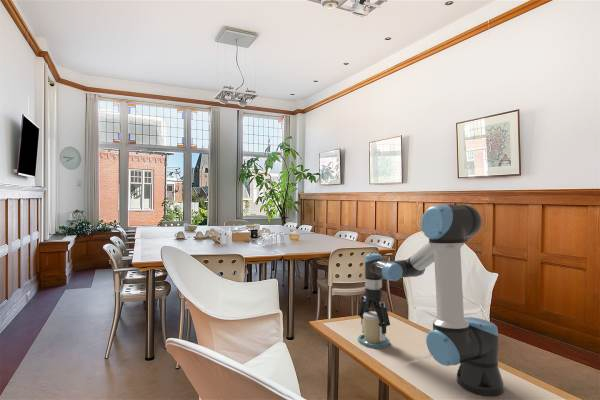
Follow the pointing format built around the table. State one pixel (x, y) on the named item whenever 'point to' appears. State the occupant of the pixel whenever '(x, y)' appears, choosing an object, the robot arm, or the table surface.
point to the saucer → (381, 345)
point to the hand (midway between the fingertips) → (373, 336)
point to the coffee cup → (371, 327)
